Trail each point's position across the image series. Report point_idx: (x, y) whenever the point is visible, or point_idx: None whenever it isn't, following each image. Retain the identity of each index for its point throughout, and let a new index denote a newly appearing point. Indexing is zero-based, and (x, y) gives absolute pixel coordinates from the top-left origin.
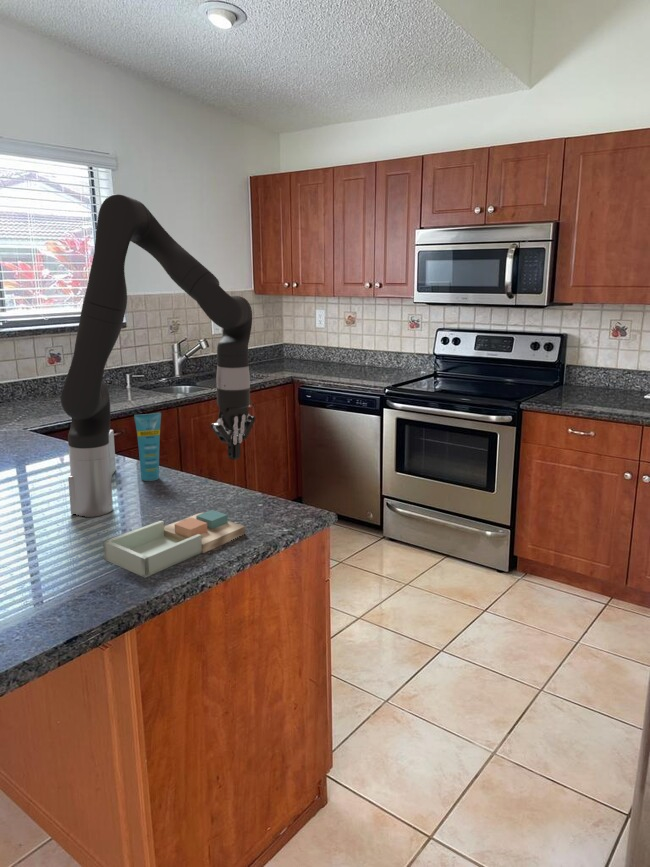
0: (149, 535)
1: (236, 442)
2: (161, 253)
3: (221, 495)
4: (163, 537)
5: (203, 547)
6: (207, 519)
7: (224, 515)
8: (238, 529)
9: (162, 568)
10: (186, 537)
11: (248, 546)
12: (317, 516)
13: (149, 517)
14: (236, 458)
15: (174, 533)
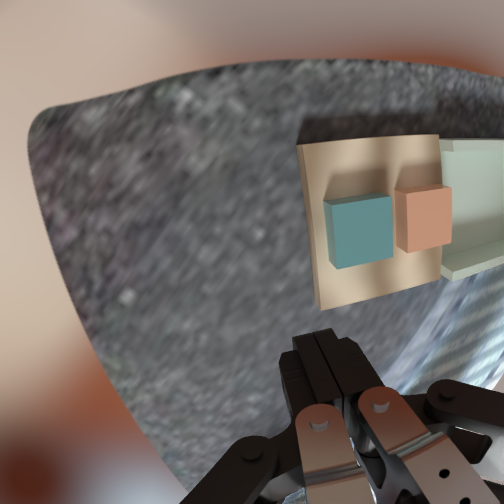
0: (469, 256)
1: (372, 398)
2: None
3: (179, 396)
4: None
5: (433, 134)
6: (391, 214)
7: (341, 207)
8: (328, 142)
9: (496, 138)
10: None
11: (335, 82)
12: (55, 128)
13: (376, 368)
14: (322, 330)
15: None
